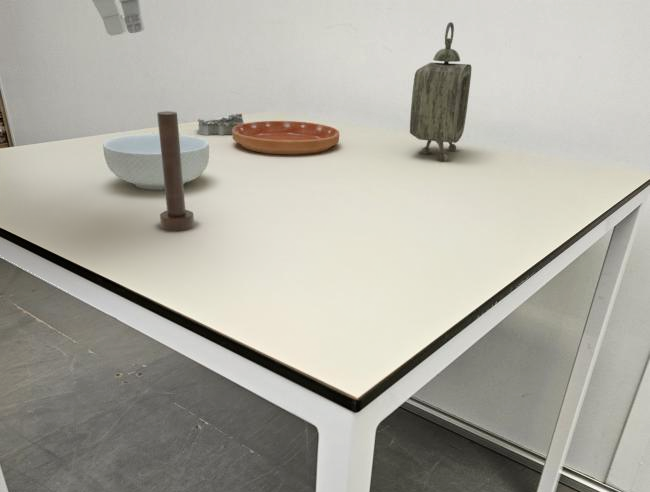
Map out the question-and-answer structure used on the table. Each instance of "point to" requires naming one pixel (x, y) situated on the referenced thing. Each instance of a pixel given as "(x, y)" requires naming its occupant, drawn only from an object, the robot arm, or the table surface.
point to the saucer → (285, 137)
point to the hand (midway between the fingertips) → (128, 33)
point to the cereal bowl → (153, 159)
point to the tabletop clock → (440, 99)
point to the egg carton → (220, 125)
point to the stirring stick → (172, 175)
